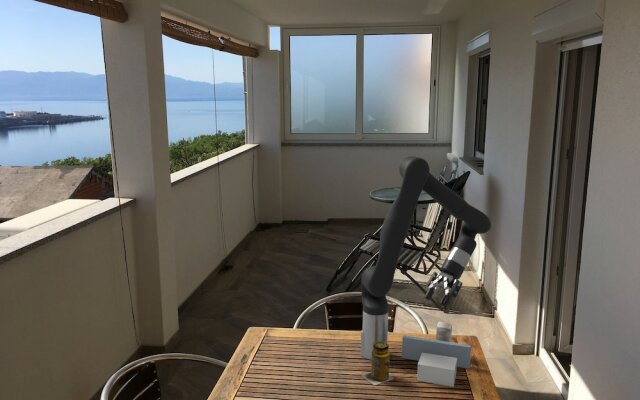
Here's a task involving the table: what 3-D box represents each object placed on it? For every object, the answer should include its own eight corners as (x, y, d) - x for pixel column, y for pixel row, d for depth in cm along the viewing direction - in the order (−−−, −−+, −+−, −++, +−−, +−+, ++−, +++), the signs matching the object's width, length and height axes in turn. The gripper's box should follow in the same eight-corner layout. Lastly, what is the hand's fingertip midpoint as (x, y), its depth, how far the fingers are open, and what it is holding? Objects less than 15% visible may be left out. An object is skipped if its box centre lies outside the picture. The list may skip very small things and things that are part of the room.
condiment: (394, 378, 183) (395, 345, 181) (374, 386, 179) (375, 352, 177) (380, 370, 189) (381, 337, 187) (361, 376, 185) (361, 343, 183)
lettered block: (435, 357, 199) (436, 327, 196) (436, 351, 203) (438, 321, 201) (449, 360, 197) (450, 329, 195) (450, 353, 202) (452, 323, 200)
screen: (401, 357, 198) (402, 337, 197) (402, 355, 200) (403, 335, 199) (469, 368, 191) (470, 347, 189) (469, 366, 192) (471, 345, 191)
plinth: (417, 380, 182) (417, 364, 181) (421, 368, 191) (422, 352, 190) (453, 387, 178) (454, 370, 177) (456, 374, 187) (457, 358, 186)
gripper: (436, 254, 199) (415, 292, 196) (462, 261, 186) (440, 302, 183) (449, 264, 202) (428, 302, 199) (476, 272, 189) (454, 312, 186)
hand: (434, 302), depth 191 cm, fingers open, 8 cm apart
